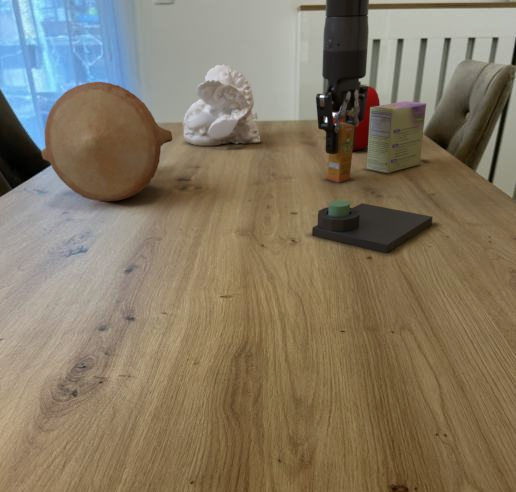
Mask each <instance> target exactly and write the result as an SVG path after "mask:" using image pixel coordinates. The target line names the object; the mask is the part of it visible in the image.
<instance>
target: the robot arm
mask: <svg viewBox="0 0 516 492" xmlns="http://www.w3.org/2000/svg"><path fill="white" fill-rule="evenodd" d="M369 4H370V0H325V19H324V27H323V35H322V36H323V38H322V40H323V41H322V72H321V73H322V78H323V79H325V80H327V87H326V91H324V92H323V93H316V95H315V103H316V104H315V106H316V117H317V127H318V129H319V130H322V131H324V132H325V153H326V154H328V155H329V154H336V153H337V152H338V139H339V132H338V131H339V127H340V122H341V120H342V119H344V123H348V124H352V125H354V126H355V127H354V138H353V147H355V135H356V126H358V124H359V121H363V119H364V114H365V107H366V101H367V95H368V87H367V86H368V85H364V86H360V85H359V82H360V79H363V78H365V77H366V75H367V63H368V62H367V61H368V50H369V49H368V47H369V30H370V29H369V6H370V5H369ZM359 99H360V100H359ZM359 107H360V110H359ZM333 112H338V113H333ZM358 112H359V114H358ZM349 115H350V117H349ZM333 119H335V123H334V124H333Z"/></svg>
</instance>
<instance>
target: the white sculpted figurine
mask: <svg viewBox="0 0 516 492" xmlns="http://www.w3.org/2000/svg"><path fill="white" fill-rule="evenodd" d="M195 93H196V95H197V96H198V97H199V98H200V99H197V100H196V101H195V102H194V103H192V104H191V105H190V106H189V107H188V109H187V111H186V112H185V114H184V117H183V121H182V122H181V124H182V126H183V138H184V140H185V141H186V142H187V143H188V144H191V145H194V146H199V147H213V146H214V147H215V146H220V145H225V144H230V143H232V144H235V145H238V144H259V143H261V142H262V141H261V136H260V135H261V133H260V129H259V127H258V125H257V123H256V122H254V120H255V119H256V120H258V119H259V118H258V114H257V112H255V113H254V114H253V113H252V109H253V108H254V104H255V103H254V101H255V100H254V96H253V91H252V87H251V84H250V83H249V80H248V79H247V78H246V77H245V75H244V74H243V73H242V72H240V71H239V70H237V69H233V68H232V67H231V66H230V65H229V64H227V65H226V64H225V63H222V64H217V65H214V67H211V68H210V69H209V70H208V71H207V72H206V75H205V77H204V81H203V82H200V83H199V84H198V85H196V89H195Z"/></svg>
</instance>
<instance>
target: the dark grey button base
mask: <svg viewBox="0 0 516 492" xmlns="http://www.w3.org/2000/svg"><path fill="white" fill-rule="evenodd" d="M328 209H329V206H328V207H323V208H321V209H320V210H318V212H317V225H315V226H313V227H311V228H312V229H311V231H312V236H314V237H318V238H322V239H326V240H330V241H334V242H340V243H342V244H343V243H344V244H347V245H352V246H356V247H360V248H364V249H369V250H373V251H377V252H380V253H385V254H387V253H389V252H391V251H393V250H394V249H395V248H397V247H398V246H401V244H404V242H407V241H408V240H409V239H411V238H412V237H414V236H416V235H417V234H419V233H420V232H422V231H423V230H425V229H427V228H428V227H430V226H432V224H433V216H431V215H427V214H421V213H417V212H410V211H405V210H400V209H395V208H389V207H384V206H378V205H374V204H368V203H363V202H362V203H360V204H358V205H355V206H353V207H350V213H349V216H344V217H334V216H329V215H328Z"/></svg>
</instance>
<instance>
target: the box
mask: <svg viewBox="0 0 516 492" xmlns="http://www.w3.org/2000/svg"><path fill="white" fill-rule="evenodd" d="M426 110H427V102H420V101H419V102H418V101H399V102H394V103H393V102H392V103H388V104H380V106H375V107H370V122H369V139H368V146H367V156H366V170H369V171H374V172H378V173H384V174H390V173H393V172H397V171H401V170H404V169H408V168H411V167H416V166H420V163H421V155H422V146H423V138H424V137H423V136H424V129H425V119H426Z"/></svg>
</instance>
